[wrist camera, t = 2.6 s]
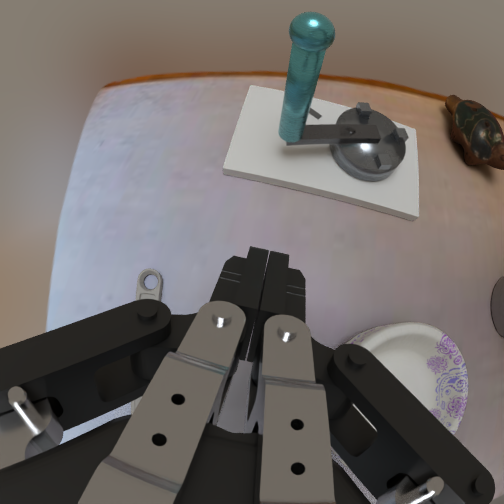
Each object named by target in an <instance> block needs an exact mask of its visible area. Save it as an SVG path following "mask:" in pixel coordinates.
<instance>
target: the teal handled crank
mask: <svg viewBox="0 0 504 504" xmlns="http://www.w3.org/2000/svg"><path fill="white" fill-rule="evenodd" d="M289 35H290V38H291V40H292V42H293V43H292V49H291V55H290V61H289V68H288V74H287V80H286V86H285V93H284V99H283V105H282V111H281V117H280V123H279V130H278V134H279V136H280V137H281V139H283V140H284V141H285V142H286V146H291V145H311V144H330V150H331V153H332V155H333V157H334V159H335V161H336V162H337V163H338V165H339V166H340V167H341V168H342V169H343V170H344V171H346V172H347V173H348V174H350V175H352V176H353V177H355V178H358V179H360V180H364V181H371V182H375V181H381V180H384V179H386V178H387V177H389V176H390V175H391V174H392V173H393V171H394V170H395V169H396V168H397V167H398V165H399V164H400V163H401V162H402V160H403V159H404V156H405V153H406V144H405V142H406V141H407V139H408V138H409V137H408V135H407V132H406V130H405V128H398V127H397V126H396V125H395V124H394V123H393V122H392V121H391V120H390V119H389V118H387V117H386V116H384V115H383V114H381V113H379V112H377V111H374V110H371V108H370V106H369V103H361V102H358V104H357V106H356V108H352V109H349V110H346V111H345V112H343V113H342V114H341V115H340V116H339V118H338V119H337V122H336V124H318V125H306V121H307V118H308V114H309V111H310V107H311V103H312V100H313V96H314V92H315V89H316V85H317V81H318V78H319V74H320V70H321V66H322V63H323V59H324V55H325V51H326V49H327V48H329V47H330V46H331V45H332V43H333V41H334V39H335V29H334V26H333V24H332V22H331V21H330V20H329V19H328V18H327V17H326V16H324V15H322V14H320V13H316V12H305V13H301V14H299V15H298V16H296V17H295V18H294V19H293V21H292V22H291V24H290V27H289Z"/></svg>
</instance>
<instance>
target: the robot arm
mask: <svg viewBox="0 0 504 504" xmlns="http://www.w3.org/2000/svg"><path fill="white" fill-rule="evenodd" d="M268 252H269V250H265V249H261V248H256V247H252V246H250V249H249V252H248V255H247V259H246V258H242V257H237V256H233V257H231V258H230V259H229V260H227V261H226V262H225V264H224V267H223V269H222V272H221V274H220V277H219V279H218V282H217V284H216V286H215V289H214V291H213V294H212V296H211V299H210V301H209V303H206V304H205V305H203V306H202V307H201V308H200V310H199V312H197V313H194V314H189V315H171V311H170V309H169V308H168V307H167V306H166V305H165V304H164V303H162V302H160V301H158V300H154V299H140V300H136V301H133V302H131V303H128V304H125V305H122V306H119V307H117V308H114V309H111V310H108V311H105V312H103V313H100V314H97V315H94V316H91V317H89V318H86V319H83V320H80V321H77V322H75V323H72V324H69V325H66V326H63V327H60V328H58V329H55V330H52V331H49V332H46V333H43V334H41V335H38V336H35V337H32V338H29V339H26V340H24V341H21V342H18V343H15V344H12V345H9V346H6V347H3V348H1V349H0V504H371V503H370V502H369V501H368V499H367V498H366V497H365V496H364V494H363V493H362V492H361V491H360V489H359V488H358V487H357V486H356V484H355V483H354V482H353V481H352V479H351V478H350V477H349V476H348V474H347V473H346V472H345V471H344V469H343V468H342V467H341V466H340V465H339V464H338V463H337V462H335V461H334V460H333V459H332V455H331V447H332V448H333V449H334V450H335V452H336V453H337V454H338V455H339V456H340V458H341V459H342V460H343V461H344V462H345V464H346V465H347V466H348V467H349V468H350V469H351V471H352V472H353V473H354V474H355V475H356V476H357V478H358V479H359V480H360V481H361V482H362V483H363V485H364V486H365V487H366V488H367V489H368V490H369V491H370V493H371V494H372V495H373V496H374V497H375V498H376V499H377V502H376V504H489V503H490V502H491V501H492V499H493V497H494V493H495V483H494V479H493V477H492V475H491V474H490V472H489V471H488V470H487V469H486V468H485V467H484V466H483V465H482V464H481V463H480V462H479V461H478V460H477V459H476V458H475V457H474V456H473V455H472V454H471V453H470V452H469V451H468V450H467V449H466V448H465V447H464V446H463V445H462V444H461V443H460V442H459V440H458V439H457V438H456V437H455V436H454V435H453V434H452V433H451V432H450V431H449V430H448V429H447V428H446V427H445V426H444V425H443V424H442V423H441V422H440V421H439V420H438V419H437V418H436V417H435V416H434V415H433V414H432V413H431V412H430V411H429V410H428V409H427V408H426V407H425V406H424V405H423V404H422V403H421V402H420V401H419V400H418V399H417V398H416V397H415V396H414V395H413V394H412V393H411V392H410V391H409V390H408V389H407V388H406V387H405V386H404V385H403V384H402V383H401V382H400V381H399V380H398V379H397V378H396V377H395V376H394V375H393V374H392V373H391V372H390V371H389V370H388V369H387V368H386V367H385V366H384V365H383V364H382V363H381V362H380V361H379V360H378V359H377V358H376V357H375V356H374V355H373V354H372V353H371V352H370V351H369V350H367V349H366V348H364V347H362V346H360V345H356V344H343V345H341V346H339V347H338V348H337V349H336V350H333V349H331V348H329V347H326V346H324V345H322V344H320V343H318V342H317V341H316V340H314V339H313V338H312V337H311V334H310V330H309V328H308V327H307V325H306V324H305V278H304V276H303V275H302V273H301V271H300V270H296V269H292V268H288V264H289V255H288V254H284V253H279V252H275V251H270V254H269V259H268V263H267V258H268ZM266 263H267V267H266ZM265 268H266V271H265ZM264 274H265V276H264ZM263 279H264V280H263ZM491 310H492V317H493V321H494V324H495V327H496V329H497V331H498V332H499V334H500V335H501V336H502V337H504V277H502V278H501V279H500V280H499V281H498V282H497V284H496V286H495V288H494V291H493V295H492V302H491ZM254 322H255V323H254ZM253 326H254V328H253ZM252 330H253V333H252ZM251 334H252V338H251ZM250 338H251V343H250V348H249V353H248V357H247V361H249V362H253V366H252V371H251V374H250V378H249V382H248V393H247V404H246V415H245V425H244V432H243V433H231V432H228V431H226V430H224V429H222V428H219V427H217V423H218V420H219V417H220V414H221V411H222V408H223V405H224V402H225V399H226V397H227V394H228V391H229V388H230V385H231V382H232V379H233V375H234V373H235V372H236V370H237V367H238V363H239V359H240V360H244V361H245V358H246V354H247V350H248V346H249V342H250ZM140 397H142V398H141V400H140V402H139V403H138V405H137V407H136V409H135V411H134V412H133V414H131V415H126V416H122V417H119V418H116V419H113V420H111V421H109V422H107V423H105V424H103V425H101V426H99V427H97V428H95V429H93V430H91V431H89V432H86V433H84V434H82V435H80V436H78V437H76V438H74V439H71V440H69V441H67V442H65V443H63V444H60V442H61V440H62V438H63V431H65V430H68V429H70V428H73V427H75V426H78V425H80V424H82V423H85V422H87V421H89V420H92V419H94V418H96V417H98V416H101V415H103V414H105V413H107V412H110V411H112V410H114V409H116V408H118V407H121V406H123V405H125V404H127V403H129V402H131V401H134V400H136V399H138V398H140ZM353 404H354V405H355V406H356V407H357V408H358V409H359V410H360V412H361V413H362V414H363V415H364V416H365V417H366V418H367V419H368V420H369V422H370V423H371V424H372V425H373V426H374V427H375V429H376V430H375V429H374V428H373V427H372V426H371V425H370V424H369V422H368V421H367V420H366V419H365V418H364V417H363V416H362V415H361V414H360V412H359V411H358V410H357V409H356V408H355V407H354V406H353ZM59 444H60V445H59Z"/></svg>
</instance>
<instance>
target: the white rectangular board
mask: <svg viewBox="0 0 504 504" xmlns="http://www.w3.org/2000/svg"><path fill="white" fill-rule="evenodd" d="M284 93H285V91H280V90H275V89H270V88H264V87H259V86H253V85H250V88H249V91H248V94H247V96H246V99H245V102H244V105H243V108H242V111H241V114H240V117H239V120H238V123H237V126H236V129H235V132H234V135H233V138H232V141H231V144H230V147H229V150H228V153H227V156H226V160H225V163H224V166H223V174H224V175H229V176H234V177H239V178H244V179H249V180H254V181H259V182H263V183H268V184H272V185H277V186H281V187H286V188H290V189H294V190H299V191H303V192H307V193H311V194H315V195H319V196H323V197H327V198H331V199H335V200H339V201H343V202H347V203H351V204H354V205H358V206H362V207H365V208H369V209H373V210H376V211H380V212H383V213H387V214H390V215H394V216H397V217H400V218H404V219H407V220H410V221H414V220H416V219H417V218H418V217H419V175H418V154H417V139H416V129H413V128H410V127H408V126H405V125H402V124H400V123H397V122H394V121H392V122H393V123H394V124H395V125H396V126H397V127H398V128H405V130H406V132H407V135H408V137H409V138H408V139H407V141H406V142H405V144H406V153H405V156H404V159H403V160H402V162H401V163H400V164H399V165H398V167H397V168H396V169H395V170H394V171H393V173H392V174H391V175H390V176H389V177H387V178H386V179H384V180H381V181H375V182H371V181H364V180H360V179H358V178H355V177H353V176H352V175H350V174H348V173H347V172H346V171H344V170H343V169H342V168H341V167H340V166H339V165H338V163H337V162H336V161H335V159H334V157H333V155H332V153H331V150H330V144H311V145H291V146H286V142H285V141H284V140H283V139H281V137H280V136H279V134H278V130H279V123H280V117H281V111H282V105H283V99H284ZM349 109H352V108H350V107H347V106H343V105H339V104H336V103H332V102H328V101H324V100H320V99H316V98H313V100H312V103H311V107H310V111H309V114H308V118H307V121H306V125H318V124H336V122H337V119H338V118H339V116H340V115H341V114H342V113H343V112H345V111H346V110H349Z"/></svg>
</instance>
